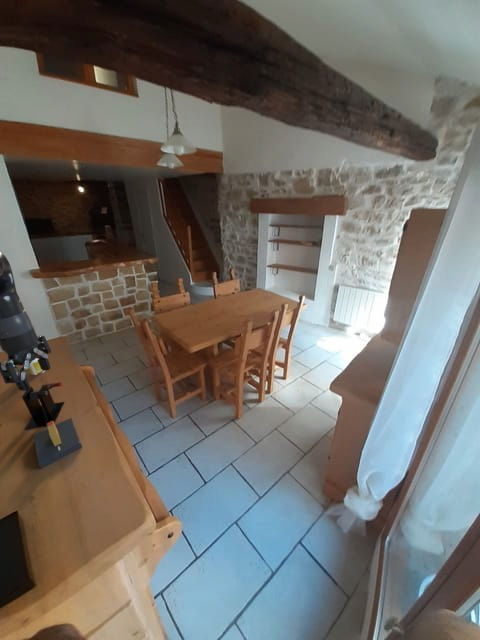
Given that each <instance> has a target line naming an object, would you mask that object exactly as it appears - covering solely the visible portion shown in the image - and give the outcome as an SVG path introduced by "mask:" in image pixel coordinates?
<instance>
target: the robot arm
mask: <svg viewBox="0 0 480 640" xmlns="http://www.w3.org/2000/svg"><path fill="white" fill-rule="evenodd" d="M0 349H1V350H2V351H3V352H4V353H6V354H7V359H6V360H5V361H2V362H0V375H1V376H2V380H3V381H4V383H5V384H15V385H16V386H17V388H18V390H19V391H22V392H26V391H28V390H30V388H31V387H32V386H31V384H30V383H29V381H28V379H27V378H26V372H28V371H27V370H28V366H29V364H30V363H31V362H32V361H33V360H35V359H36V358H37V359H38V363H39V365H40V367H41V369H42V370H45V371H50V370H51V363H50V361H49V359H48V357H49V354H51V353H52V349H51V347H50V345H49V343H48V340H47V338H46V336H45V335H37V333H36V330H35V327H34V326H33V324H32V321H31V318H30V316H29V315H28V313H27V311H26V310H25V308H24V305H23V303H22V301H21V298H20V296H19V294H18V292H17V287H16V282H15V278H14V274H13V270H12V267H11V264H10V262H9V260H8V258H7V256H6V255H4V254H3V252H1V251H0ZM18 366H20V367H18ZM21 366H22V367H21ZM18 374H19V375H18Z"/></svg>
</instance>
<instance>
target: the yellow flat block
mask: <svg viewBox="0 0 480 640" xmlns="http://www.w3.org/2000/svg"><path fill="white" fill-rule="evenodd" d="M55 425H56V424H55V423H54V422H53V421H51V422H49V423H47V426H46V427H47V429H48V431H49V435H50V438H51V440H52V442H53V444H54V446H57V445H59V444H61V440H60V437H59V433H58V430H57V428H56V426H55Z"/></svg>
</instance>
